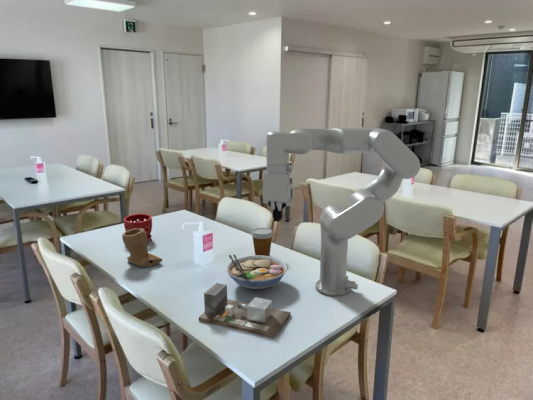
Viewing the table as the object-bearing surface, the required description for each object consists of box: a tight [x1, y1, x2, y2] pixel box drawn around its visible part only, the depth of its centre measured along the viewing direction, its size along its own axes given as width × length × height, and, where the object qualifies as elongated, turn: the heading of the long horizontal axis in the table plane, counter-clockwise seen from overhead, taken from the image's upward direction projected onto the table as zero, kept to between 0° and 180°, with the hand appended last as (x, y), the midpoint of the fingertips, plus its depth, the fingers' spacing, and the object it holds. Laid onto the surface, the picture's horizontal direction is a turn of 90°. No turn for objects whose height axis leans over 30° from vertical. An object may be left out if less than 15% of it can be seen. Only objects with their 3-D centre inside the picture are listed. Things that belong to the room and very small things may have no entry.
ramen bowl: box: [226, 254, 288, 290], centre depth 154 cm, size 25×23×8 cm
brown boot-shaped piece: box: [121, 228, 163, 268], centre depth 173 cm, size 15×12×15 cm
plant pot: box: [123, 213, 153, 242], centre depth 200 cm, size 13×13×12 cm
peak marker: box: [222, 304, 234, 317], centre depth 130 cm, size 2×5×3 cm, turn 157°
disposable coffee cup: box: [251, 227, 274, 256], centre depth 180 cm, size 10×10×12 cm
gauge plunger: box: [238, 296, 274, 324], centre depth 130 cm, size 10×6×5 cm, turn 67°
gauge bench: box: [198, 282, 291, 339], centre depth 131 cm, size 26×14×8 cm, turn 67°
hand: (277, 220), depth 143 cm, fingers closed
